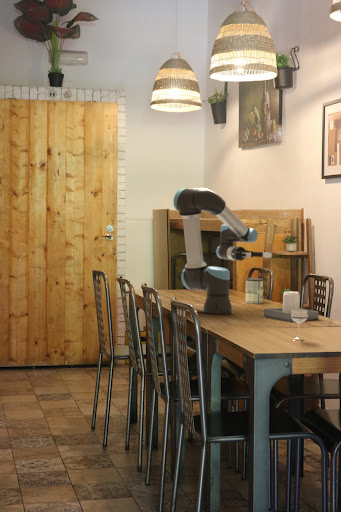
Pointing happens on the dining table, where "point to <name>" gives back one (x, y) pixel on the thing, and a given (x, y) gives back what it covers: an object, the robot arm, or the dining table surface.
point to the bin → (287, 314)
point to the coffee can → (254, 290)
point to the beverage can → (290, 301)
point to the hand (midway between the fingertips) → (260, 255)
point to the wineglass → (299, 317)
